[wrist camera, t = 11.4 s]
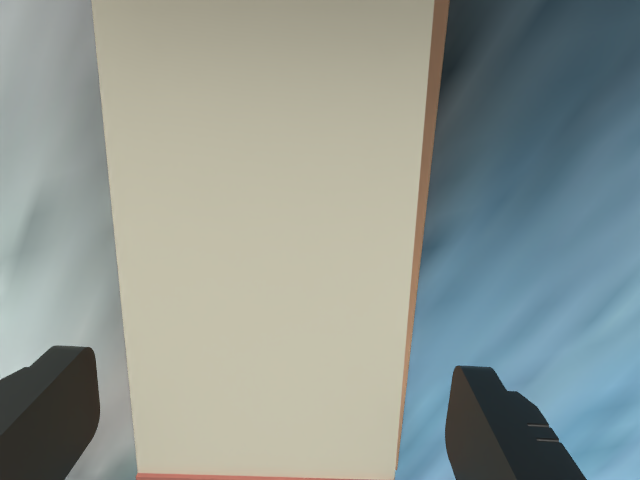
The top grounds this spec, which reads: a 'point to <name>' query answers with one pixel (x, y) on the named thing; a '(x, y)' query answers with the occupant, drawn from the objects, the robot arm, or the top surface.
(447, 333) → the top surface
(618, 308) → the top surface
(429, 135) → the tile
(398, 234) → the cream box
